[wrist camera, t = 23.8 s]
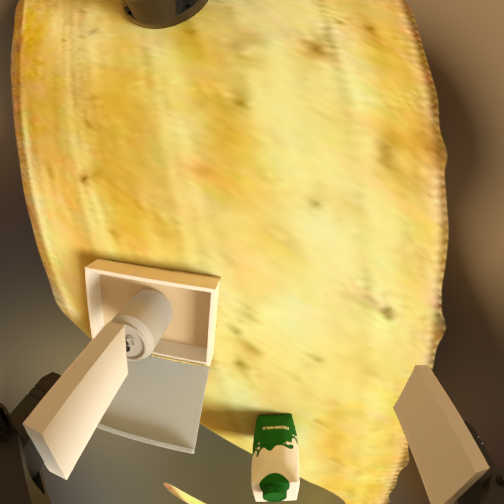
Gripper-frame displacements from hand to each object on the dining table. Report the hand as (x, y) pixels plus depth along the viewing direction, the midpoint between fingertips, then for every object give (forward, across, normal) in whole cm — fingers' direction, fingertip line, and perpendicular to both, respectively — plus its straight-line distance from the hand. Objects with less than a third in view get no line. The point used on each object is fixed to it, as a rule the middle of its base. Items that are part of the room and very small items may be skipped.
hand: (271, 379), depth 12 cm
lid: (+22, -17, -26) cm, 38 cm away
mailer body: (+35, -17, -17) cm, 43 cm away
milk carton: (+35, +9, -42) cm, 55 cm away
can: (+34, -17, -17) cm, 42 cm away
